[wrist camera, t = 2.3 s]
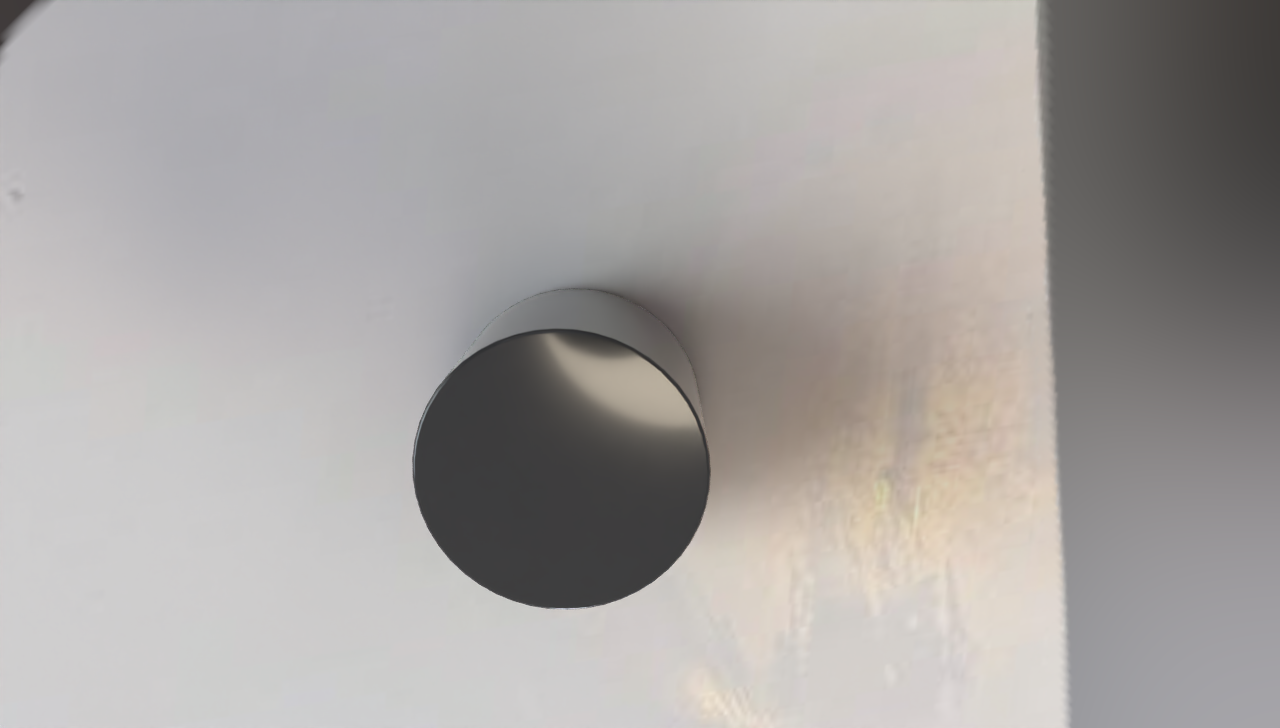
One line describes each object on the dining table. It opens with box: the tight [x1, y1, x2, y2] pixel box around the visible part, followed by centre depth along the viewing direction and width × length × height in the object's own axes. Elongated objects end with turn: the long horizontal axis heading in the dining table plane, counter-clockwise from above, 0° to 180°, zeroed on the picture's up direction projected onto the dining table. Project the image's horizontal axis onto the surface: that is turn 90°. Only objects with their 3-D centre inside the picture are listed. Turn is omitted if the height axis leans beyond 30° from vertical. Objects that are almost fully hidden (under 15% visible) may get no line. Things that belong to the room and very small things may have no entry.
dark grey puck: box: [412, 289, 711, 610], centre depth 19 cm, size 5×5×4 cm
